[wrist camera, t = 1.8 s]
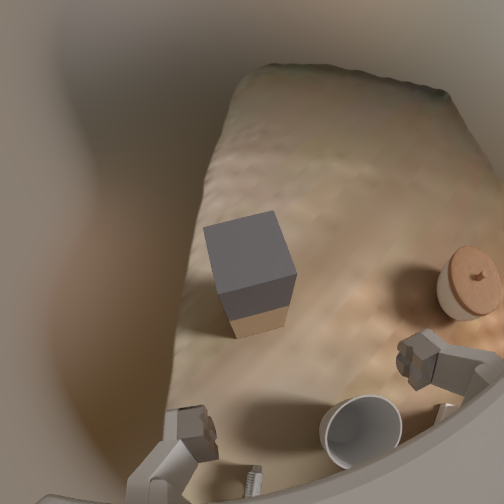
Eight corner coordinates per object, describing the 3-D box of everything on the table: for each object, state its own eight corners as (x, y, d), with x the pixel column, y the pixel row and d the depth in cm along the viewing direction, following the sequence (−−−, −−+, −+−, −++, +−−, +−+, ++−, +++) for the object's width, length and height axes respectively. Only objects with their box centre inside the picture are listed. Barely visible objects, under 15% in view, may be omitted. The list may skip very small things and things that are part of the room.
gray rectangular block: (289, 305, 29) (297, 273, 22) (229, 321, 29) (217, 294, 22) (271, 253, 33) (273, 210, 26) (216, 267, 32) (203, 227, 25)
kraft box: (283, 326, 37) (291, 297, 27) (237, 338, 37) (226, 314, 27) (270, 284, 40) (272, 241, 30) (226, 295, 40) (212, 256, 30)
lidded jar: (469, 271, 39) (499, 244, 31) (477, 329, 34) (512, 310, 26) (422, 265, 41) (450, 235, 32) (428, 329, 36) (463, 309, 27)
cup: (322, 464, 28) (342, 484, 19) (299, 413, 32) (312, 418, 23) (377, 435, 29) (412, 443, 20) (355, 385, 33) (384, 380, 24)
